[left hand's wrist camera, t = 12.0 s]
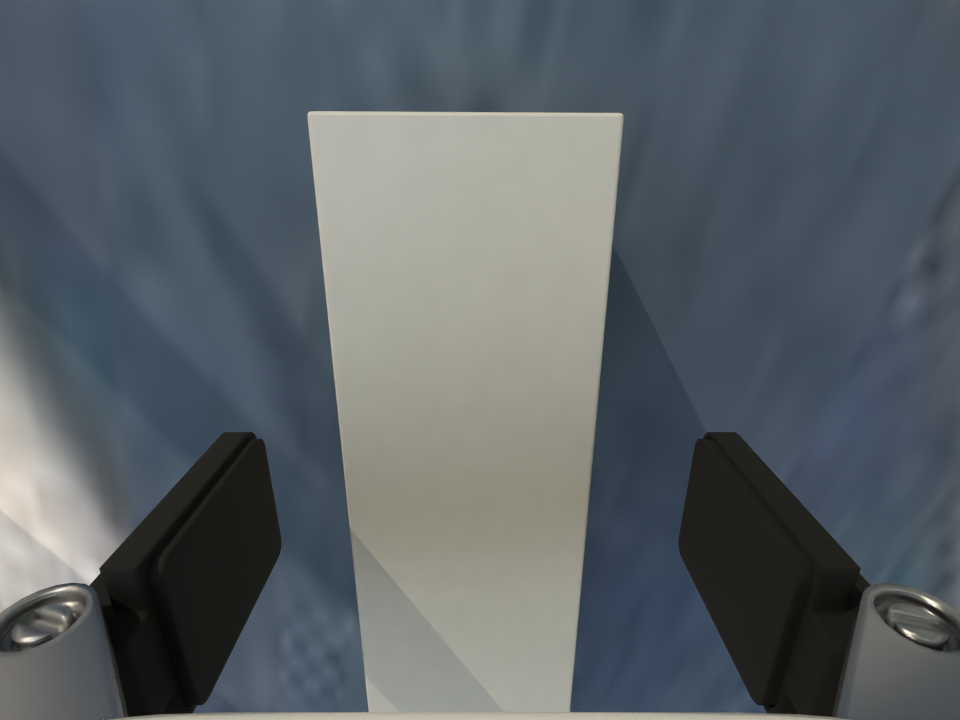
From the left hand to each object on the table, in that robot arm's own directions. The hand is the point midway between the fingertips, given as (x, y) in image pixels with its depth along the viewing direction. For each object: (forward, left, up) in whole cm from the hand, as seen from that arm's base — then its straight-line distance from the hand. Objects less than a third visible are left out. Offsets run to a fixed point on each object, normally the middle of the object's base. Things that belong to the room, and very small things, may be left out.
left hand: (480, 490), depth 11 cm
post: (+3, +29, -7) cm, 30 cm away
